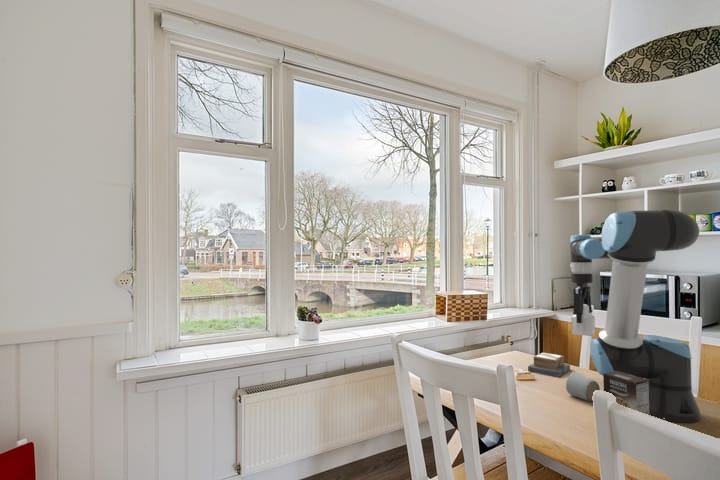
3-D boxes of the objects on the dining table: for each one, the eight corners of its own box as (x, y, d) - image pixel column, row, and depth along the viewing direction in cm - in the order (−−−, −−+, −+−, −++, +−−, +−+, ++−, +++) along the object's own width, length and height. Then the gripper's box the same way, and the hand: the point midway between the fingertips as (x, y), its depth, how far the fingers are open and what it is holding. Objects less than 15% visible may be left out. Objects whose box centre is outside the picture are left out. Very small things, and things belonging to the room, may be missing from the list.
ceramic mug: (588, 404, 133) (587, 381, 133) (565, 396, 140) (565, 374, 140) (607, 399, 138) (607, 376, 138) (584, 391, 145) (584, 370, 145)
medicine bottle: (575, 331, 167) (574, 302, 168) (595, 333, 163) (594, 303, 163) (571, 334, 162) (570, 304, 162) (591, 336, 157) (590, 305, 157)
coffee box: (603, 429, 115) (601, 373, 115) (617, 425, 117) (616, 369, 118) (636, 443, 106) (634, 382, 107) (651, 438, 109) (649, 378, 109)
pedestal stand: (558, 377, 161) (557, 362, 161) (528, 371, 169) (527, 356, 169) (570, 369, 171) (569, 355, 171) (541, 363, 179) (540, 350, 179)
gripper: (579, 271, 173) (581, 325, 172) (563, 273, 158) (564, 332, 158) (599, 271, 167) (601, 327, 167) (584, 274, 153) (585, 334, 152)
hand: (583, 329), depth 162 cm, fingers closed on medicine bottle, 7 cm apart
